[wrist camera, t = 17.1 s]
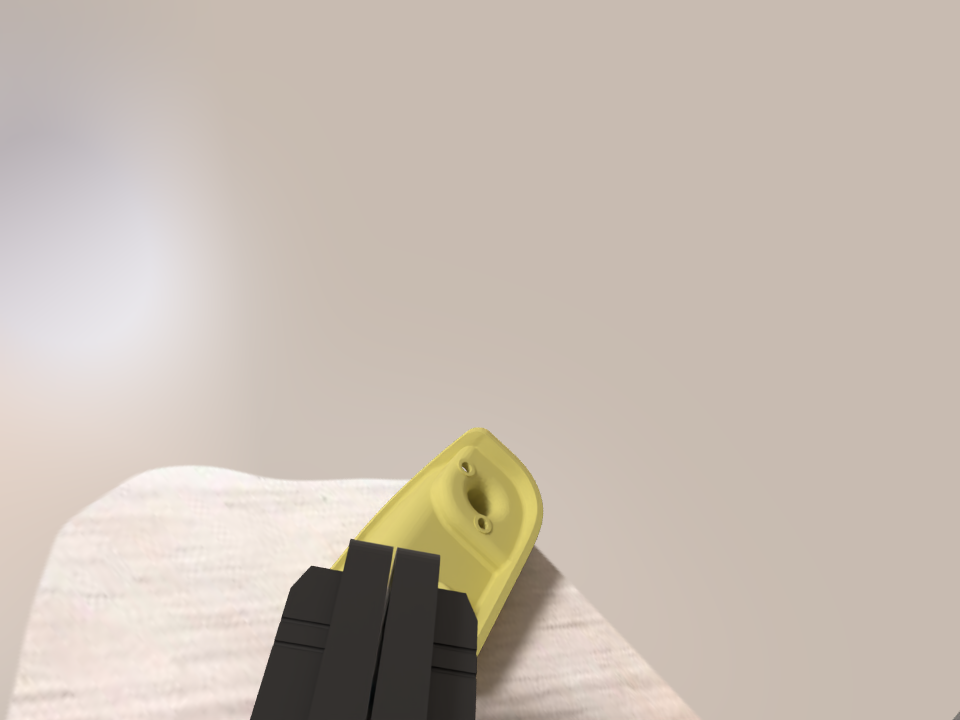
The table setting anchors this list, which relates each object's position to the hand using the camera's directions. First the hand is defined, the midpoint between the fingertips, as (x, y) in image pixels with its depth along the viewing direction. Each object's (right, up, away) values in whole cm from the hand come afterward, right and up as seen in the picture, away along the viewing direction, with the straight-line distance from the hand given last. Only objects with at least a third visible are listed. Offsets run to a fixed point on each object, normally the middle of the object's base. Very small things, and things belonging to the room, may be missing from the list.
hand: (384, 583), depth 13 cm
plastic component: (-2, -13, +44) cm, 46 cm away
